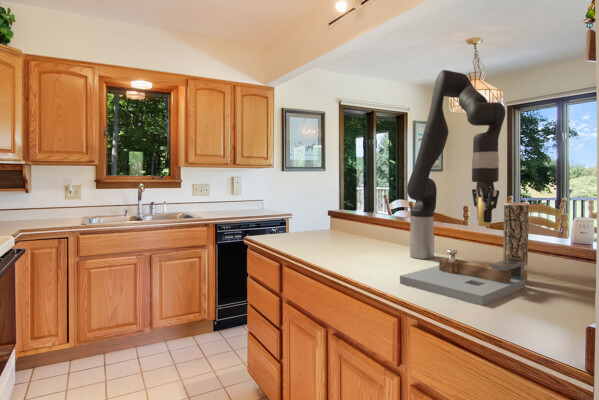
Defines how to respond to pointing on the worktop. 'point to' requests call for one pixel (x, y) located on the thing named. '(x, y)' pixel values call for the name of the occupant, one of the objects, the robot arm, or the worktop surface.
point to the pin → (481, 214)
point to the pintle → (452, 255)
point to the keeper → (511, 268)
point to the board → (460, 285)
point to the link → (474, 270)
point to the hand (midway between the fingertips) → (484, 221)
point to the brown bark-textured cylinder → (516, 232)
